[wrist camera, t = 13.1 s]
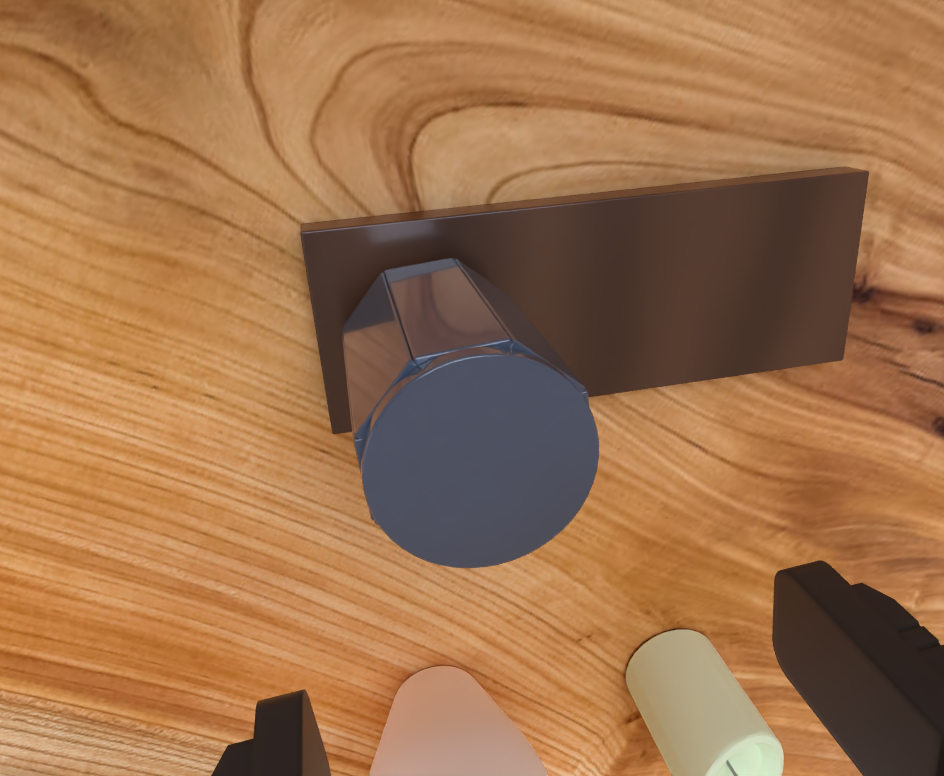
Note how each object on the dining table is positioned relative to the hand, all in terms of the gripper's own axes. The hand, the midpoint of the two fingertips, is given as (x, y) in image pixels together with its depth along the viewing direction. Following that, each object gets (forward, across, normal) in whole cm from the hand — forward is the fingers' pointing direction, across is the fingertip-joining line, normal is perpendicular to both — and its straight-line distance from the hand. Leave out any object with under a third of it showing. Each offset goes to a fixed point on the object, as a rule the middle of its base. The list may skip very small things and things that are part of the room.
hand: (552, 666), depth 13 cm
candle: (+20, -10, +22) cm, 31 cm away
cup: (+16, 0, 0) cm, 16 cm away
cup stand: (+19, -7, +1) cm, 21 cm away
